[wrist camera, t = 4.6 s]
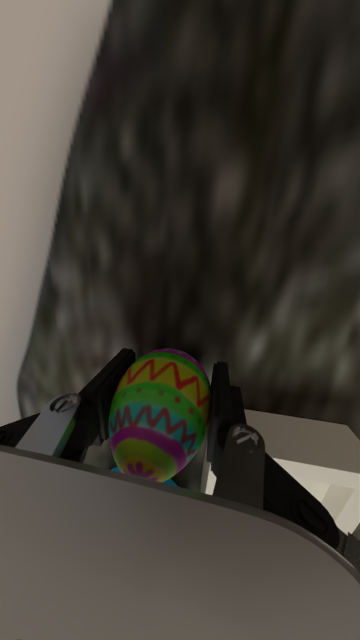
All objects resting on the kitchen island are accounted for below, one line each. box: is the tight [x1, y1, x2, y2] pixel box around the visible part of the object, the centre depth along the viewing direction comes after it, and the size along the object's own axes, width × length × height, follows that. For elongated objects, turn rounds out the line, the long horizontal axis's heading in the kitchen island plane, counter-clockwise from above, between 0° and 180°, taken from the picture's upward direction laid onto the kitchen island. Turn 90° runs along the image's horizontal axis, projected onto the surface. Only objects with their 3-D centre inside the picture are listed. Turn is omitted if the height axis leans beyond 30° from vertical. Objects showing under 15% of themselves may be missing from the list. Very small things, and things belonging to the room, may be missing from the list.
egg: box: [109, 348, 212, 482], centre depth 9 cm, size 5×5×6 cm
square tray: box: [201, 409, 360, 534], centre depth 13 cm, size 9×9×3 cm
